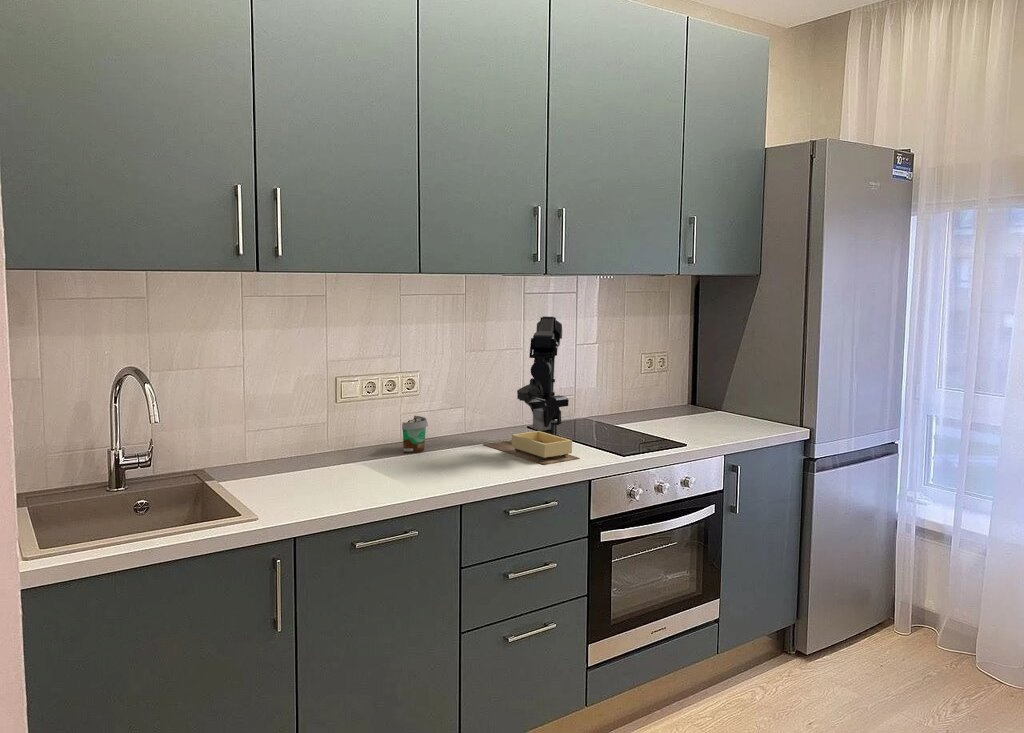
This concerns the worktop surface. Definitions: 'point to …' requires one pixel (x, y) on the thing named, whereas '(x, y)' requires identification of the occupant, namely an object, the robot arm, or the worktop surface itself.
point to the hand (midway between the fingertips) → (541, 425)
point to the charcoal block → (539, 420)
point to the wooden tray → (541, 444)
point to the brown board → (507, 447)
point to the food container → (414, 435)
